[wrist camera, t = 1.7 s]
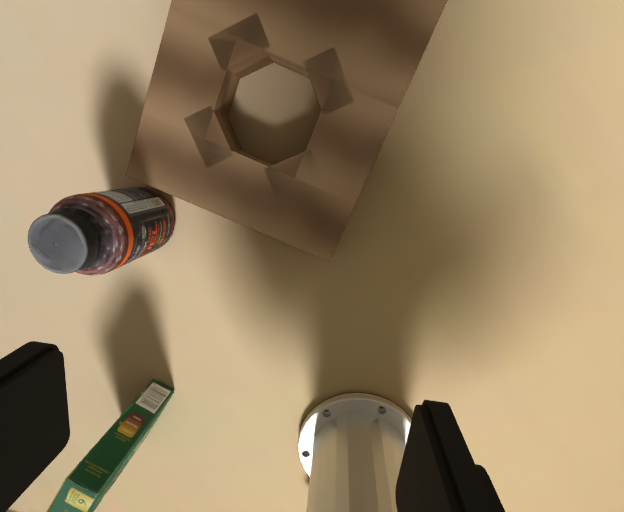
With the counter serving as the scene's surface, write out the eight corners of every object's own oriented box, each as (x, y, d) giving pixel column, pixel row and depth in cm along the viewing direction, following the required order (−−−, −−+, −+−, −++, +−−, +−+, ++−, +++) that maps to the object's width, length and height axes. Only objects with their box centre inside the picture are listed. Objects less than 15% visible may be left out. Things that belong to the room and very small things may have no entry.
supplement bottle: (165, 259, 35) (86, 305, 24) (108, 232, 35) (1, 266, 24) (186, 203, 33) (111, 224, 23) (126, 174, 33) (21, 182, 22)
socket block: (330, 251, 34) (329, 262, 30) (147, 173, 33) (125, 175, 30) (439, 8, 28) (452, -12, 25) (221, -90, 27) (204, -125, 24)
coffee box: (153, 374, 38) (62, 479, 26) (177, 388, 39) (98, 499, 26) (122, 426, 40) (23, 547, 28) (145, 439, 41) (57, 565, 28)
